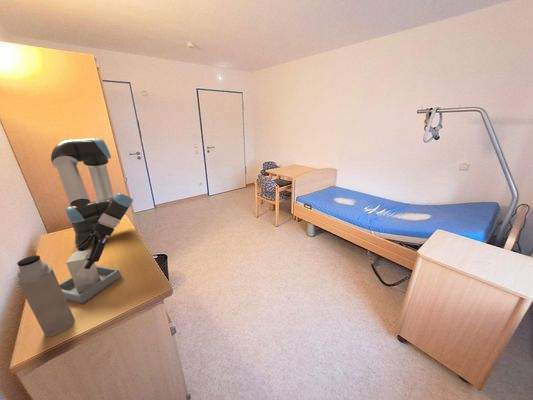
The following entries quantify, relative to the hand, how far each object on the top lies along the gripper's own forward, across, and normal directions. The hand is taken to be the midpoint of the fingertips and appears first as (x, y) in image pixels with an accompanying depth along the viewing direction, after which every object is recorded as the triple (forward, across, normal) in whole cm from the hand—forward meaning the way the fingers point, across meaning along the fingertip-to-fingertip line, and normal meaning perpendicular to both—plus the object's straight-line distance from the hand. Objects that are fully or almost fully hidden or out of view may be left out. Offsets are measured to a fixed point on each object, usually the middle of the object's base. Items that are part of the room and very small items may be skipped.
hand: (75, 270), depth 90 cm
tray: (+6, 0, -9) cm, 10 cm away
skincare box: (+5, 0, -8) cm, 10 cm away
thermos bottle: (+15, -16, 0) cm, 22 cm away
